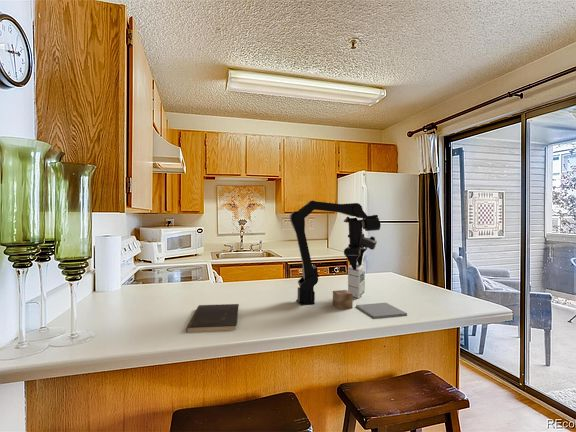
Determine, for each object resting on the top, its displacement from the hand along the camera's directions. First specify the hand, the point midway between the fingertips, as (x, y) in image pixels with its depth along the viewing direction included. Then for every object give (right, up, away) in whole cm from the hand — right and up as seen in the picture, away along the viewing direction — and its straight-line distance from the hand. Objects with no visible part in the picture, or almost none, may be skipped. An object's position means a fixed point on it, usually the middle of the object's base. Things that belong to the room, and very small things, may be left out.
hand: (357, 267), depth 134 cm
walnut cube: (-8, -15, -8) cm, 19 cm away
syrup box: (+1, -14, +8) cm, 16 cm away
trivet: (+6, -15, -13) cm, 21 cm away
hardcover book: (-57, -15, -23) cm, 63 cm away
